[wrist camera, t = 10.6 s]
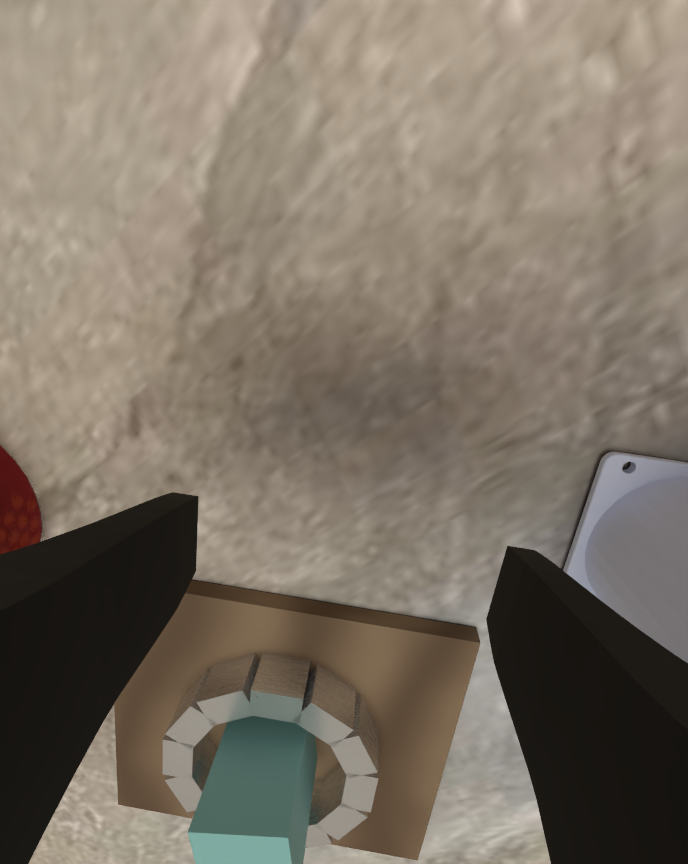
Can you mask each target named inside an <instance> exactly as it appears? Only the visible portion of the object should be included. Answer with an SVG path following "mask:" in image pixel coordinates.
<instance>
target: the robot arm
mask: <svg viewBox="0 0 688 864" xmlns="http://www.w3.org/2000/svg"><path fill="white" fill-rule="evenodd" d="M627 462H631V465H630V467H629V468H628V469H626V470H622V467H623V465H624V464H625V463H627ZM197 521H198V496H192V495H186V494H180V493H169V494H166V495H163V496H160V497H157V498H154V499H152V500H149V501H147V502H144V503H142V504H139V505H137V506H134V507H132V508H129V509H127V510H124V511H122V512H119V513H117V514H114V515H112V516H109V517H107V518H104V519H102V520H99V521H97V522H94V523H92V524H89V525H86V526H83V527H81V528H78V529H75V530H72V531H70V532H67V533H64V534H61V535H58V536H56V537H53V538H50V539H47V540H45V541H42V542H39V543H36V544H33V545H30V546H26V547H23V548H20V549H17V550H13V551H10V552H6V553H3V554H0V864H28V863H29V861H30V859H31V857H32V855H33V853H34V851H35V849H36V847H37V845H38V843H39V841H40V839H41V837H42V835H43V833H44V831H45V829H46V827H47V826H48V824H49V822H50V820H51V818H52V816H53V814H54V812H55V810H56V808H57V806H58V804H59V803H60V801H61V799H62V797H63V795H64V793H65V791H66V789H67V787H68V785H69V783H70V781H71V780H72V778H73V776H74V774H75V772H76V770H77V768H78V767H79V765H80V763H81V761H82V759H83V757H84V756H85V754H86V752H87V750H88V748H89V746H90V745H91V743H92V741H93V739H94V737H95V735H96V734H97V732H98V730H99V728H100V726H101V725H102V723H103V721H104V719H105V718H106V716H107V714H108V713H109V711H110V710H111V708H112V706H113V705H114V703H115V702H116V700H117V698H118V697H119V695H120V694H121V692H122V691H123V689H124V688H125V686H126V685H127V683H128V682H129V680H130V679H131V677H132V676H133V675H134V673H135V672H136V670H137V669H138V667H139V666H140V664H141V663H142V661H143V660H144V658H145V657H146V655H147V654H148V652H149V651H150V649H151V648H152V646H153V645H154V643H155V642H156V640H157V639H158V637H159V636H160V634H161V633H162V631H163V630H164V628H165V627H166V625H167V624H168V622H169V621H170V619H171V618H172V616H173V615H174V613H175V611H176V610H177V608H178V606H179V604H180V602H181V600H182V598H183V597H184V595H185V593H186V591H187V588H188V586H189V584H190V582H191V580H192V578H193V576H194V574H195V572H196V551H197ZM486 620H487V626H488V632H489V638H490V644H491V649H492V654H493V659H494V664H495V667H496V670H497V674H498V677H499V680H500V683H501V686H502V690H503V693H504V696H505V699H506V702H507V705H508V708H509V712H510V715H511V718H512V721H513V724H514V727H515V730H516V733H517V736H518V739H519V743H520V746H521V749H522V752H523V755H524V758H525V761H526V764H527V767H528V770H529V774H530V777H531V781H532V785H533V788H534V792H535V795H536V799H537V803H538V807H539V812H540V816H541V821H542V825H543V830H544V834H545V838H546V843H547V847H548V852H549V856H550V861H551V864H688V462H682V461H675V460H669V459H662V458H656V457H649V456H642V455H636V454H629V453H622V452H609V453H607V454H605V455H604V456H603V457H602V459H601V461H600V463H599V466H598V469H597V472H596V475H595V478H594V481H593V484H592V487H591V490H590V493H589V496H588V499H587V502H586V505H585V508H584V510H583V513H582V516H581V519H580V522H579V525H578V528H577V531H576V534H575V537H574V540H573V543H572V546H571V549H570V552H569V555H568V557H567V560H566V563H565V566H564V569H563V570H562V569H560V568H559V567H558V566H556V565H555V564H554V563H552V562H551V561H550V560H548V559H547V558H546V557H544V556H543V555H541V554H540V553H538V552H537V551H535V550H529V549H523V548H517V547H511V546H507V550H506V553H505V557H504V560H503V564H502V567H501V571H500V574H499V577H498V581H497V584H496V588H495V591H494V595H493V598H492V602H491V605H490V609H489V612H488V616H487V619H486Z"/></svg>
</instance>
